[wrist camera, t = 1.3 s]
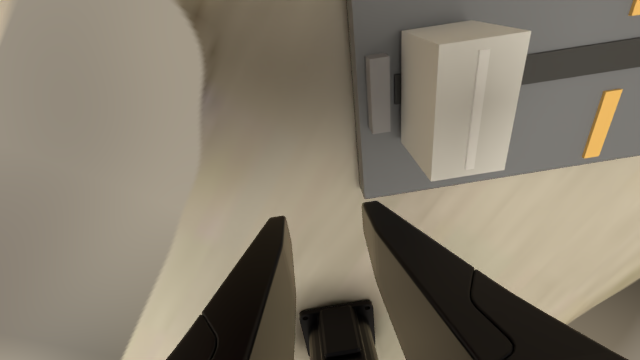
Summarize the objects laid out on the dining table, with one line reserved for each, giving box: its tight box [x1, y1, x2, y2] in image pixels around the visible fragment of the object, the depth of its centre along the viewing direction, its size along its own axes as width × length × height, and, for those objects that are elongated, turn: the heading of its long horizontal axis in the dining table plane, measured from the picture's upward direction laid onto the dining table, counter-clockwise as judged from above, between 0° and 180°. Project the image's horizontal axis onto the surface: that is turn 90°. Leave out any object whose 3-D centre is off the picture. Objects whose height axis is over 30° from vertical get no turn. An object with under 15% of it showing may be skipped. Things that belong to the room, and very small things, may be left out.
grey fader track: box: [347, 0, 640, 199], centre depth 18 cm, size 14×24×2 cm, turn 97°
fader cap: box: [401, 20, 531, 182], centre depth 16 cm, size 6×4×5 cm, turn 7°
